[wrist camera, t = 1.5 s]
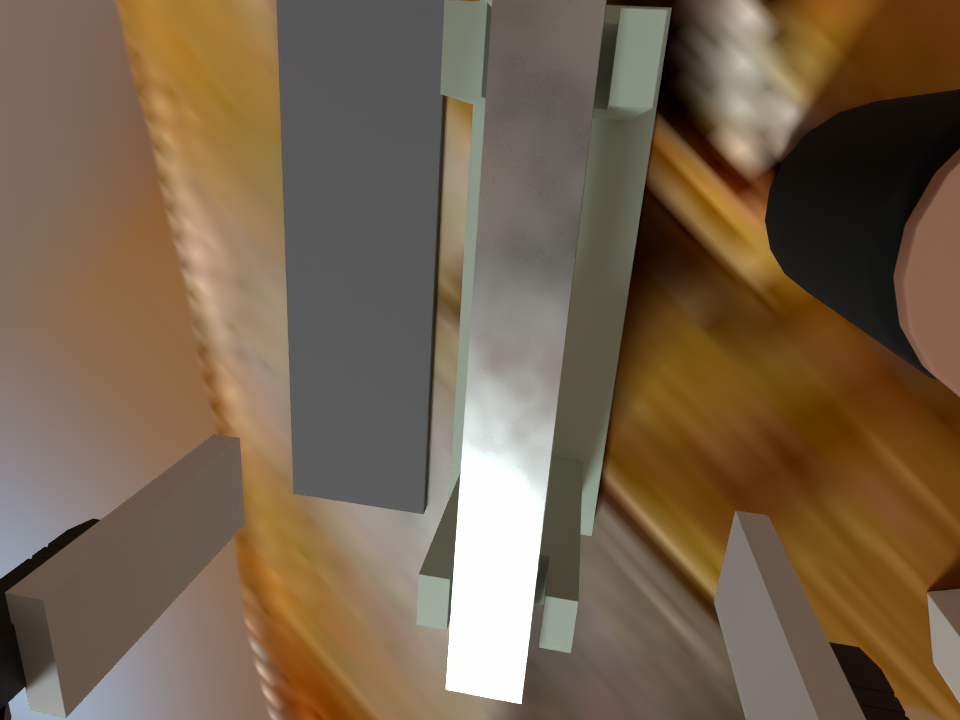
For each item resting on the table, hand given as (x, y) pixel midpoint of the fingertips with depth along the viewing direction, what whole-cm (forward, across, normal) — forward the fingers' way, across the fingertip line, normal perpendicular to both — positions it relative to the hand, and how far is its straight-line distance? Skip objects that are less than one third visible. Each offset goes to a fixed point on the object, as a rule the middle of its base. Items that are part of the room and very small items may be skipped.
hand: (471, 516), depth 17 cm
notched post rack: (+25, 0, 0) cm, 25 cm away
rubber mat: (+25, -12, 0) cm, 28 cm away
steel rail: (+13, 0, 0) cm, 13 cm away
